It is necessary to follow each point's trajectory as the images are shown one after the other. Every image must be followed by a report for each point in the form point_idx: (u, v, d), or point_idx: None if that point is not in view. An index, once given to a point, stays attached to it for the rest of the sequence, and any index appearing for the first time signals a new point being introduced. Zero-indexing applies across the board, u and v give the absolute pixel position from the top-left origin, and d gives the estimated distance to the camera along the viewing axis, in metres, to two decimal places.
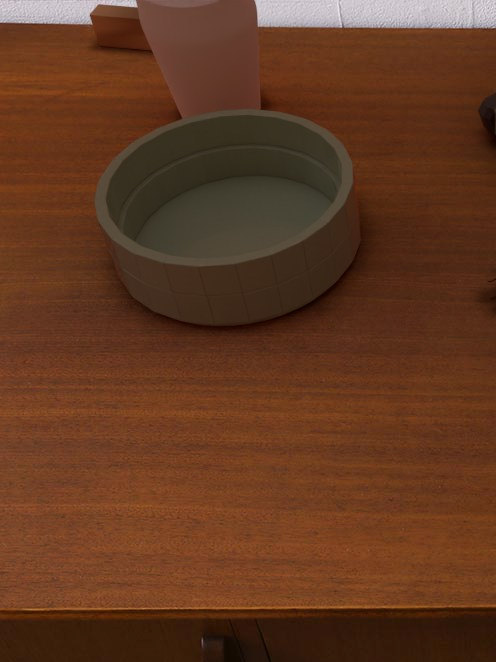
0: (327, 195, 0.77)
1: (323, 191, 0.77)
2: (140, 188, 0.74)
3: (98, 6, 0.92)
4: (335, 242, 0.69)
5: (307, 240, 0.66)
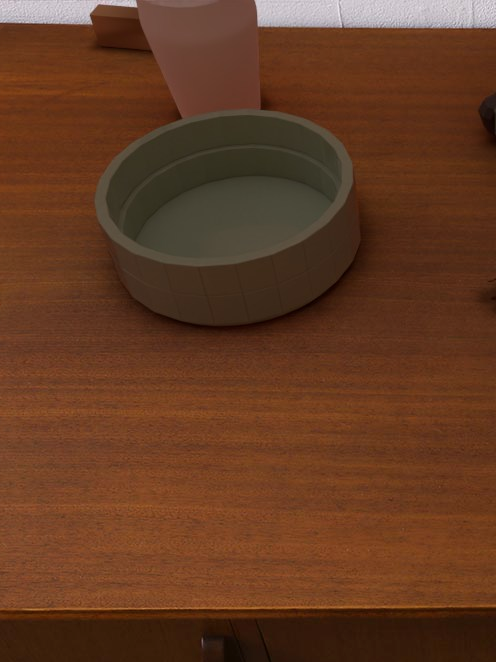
0: (327, 195, 0.77)
1: (323, 191, 0.77)
2: (140, 188, 0.74)
3: (98, 6, 0.92)
4: (335, 242, 0.69)
5: (307, 240, 0.66)
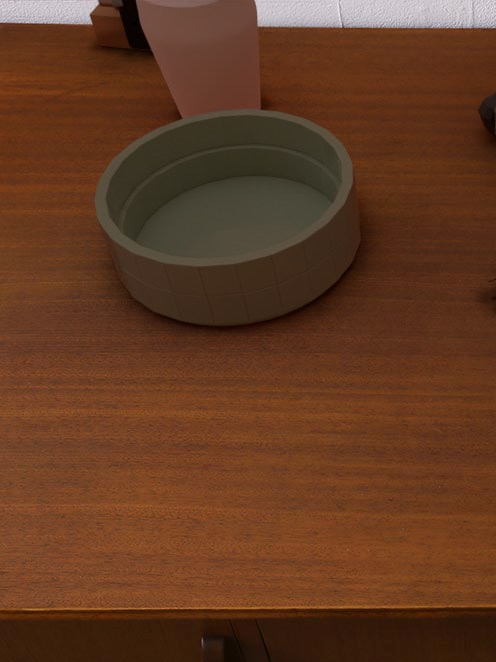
0: (327, 195, 0.77)
1: (323, 191, 0.77)
2: (140, 188, 0.74)
3: (98, 6, 0.92)
4: (335, 242, 0.69)
5: (307, 240, 0.66)
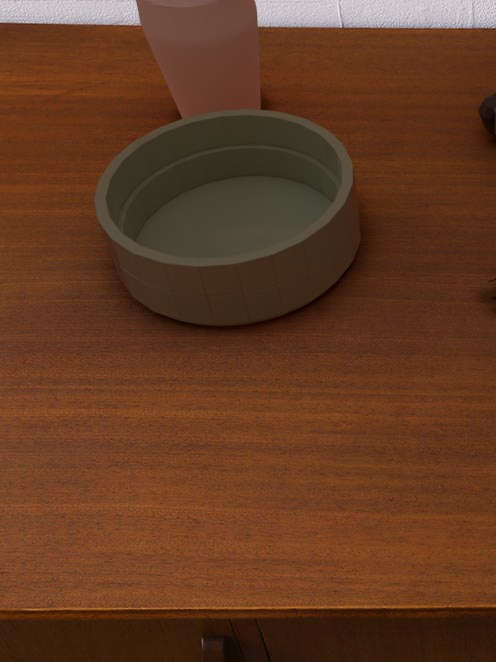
0: (327, 195, 0.77)
1: (323, 191, 0.77)
2: (140, 188, 0.74)
3: None
4: (335, 242, 0.69)
5: (307, 240, 0.66)
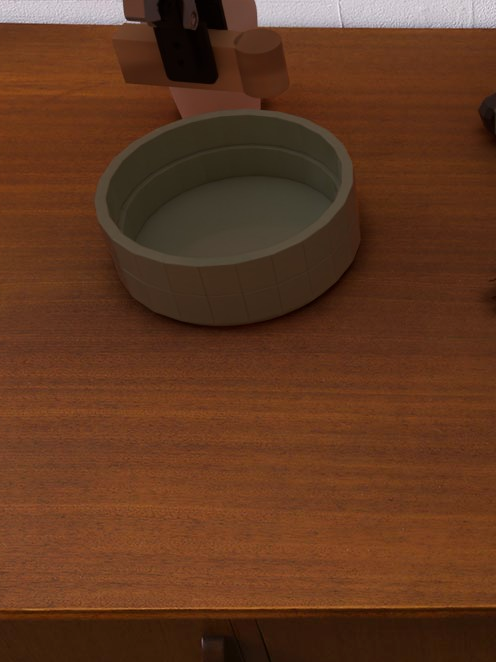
0: (327, 195, 0.77)
1: (323, 191, 0.77)
2: (140, 188, 0.74)
3: (124, 26, 0.63)
4: (335, 242, 0.69)
5: (307, 240, 0.66)
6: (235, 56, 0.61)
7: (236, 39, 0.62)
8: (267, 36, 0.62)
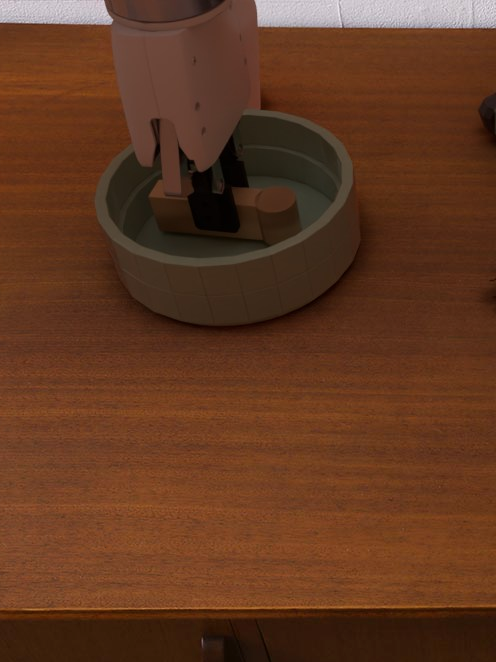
0: (327, 195, 0.77)
1: (323, 191, 0.77)
2: (140, 188, 0.74)
3: (158, 183, 0.72)
4: (335, 242, 0.69)
5: (307, 240, 0.66)
6: (256, 213, 0.71)
7: (257, 197, 0.71)
8: (283, 194, 0.72)
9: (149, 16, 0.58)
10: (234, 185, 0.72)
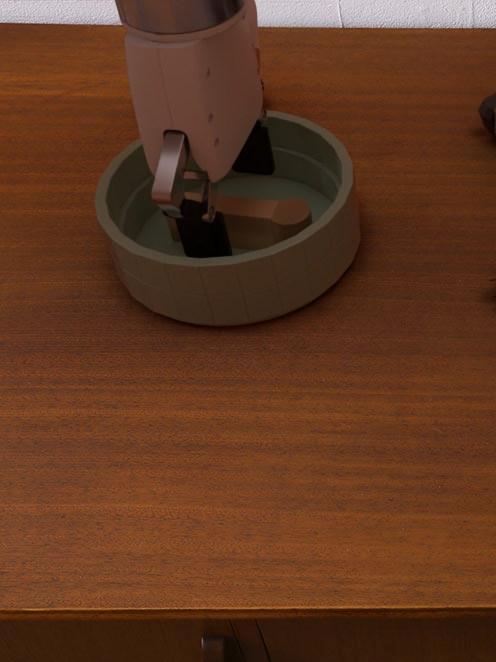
0: (327, 195, 0.77)
1: (323, 191, 0.77)
2: (140, 188, 0.74)
3: None
4: (335, 242, 0.69)
5: (307, 240, 0.66)
6: (270, 225, 0.71)
7: (271, 209, 0.71)
8: (298, 206, 0.72)
9: (163, 27, 0.57)
10: (258, 151, 0.73)
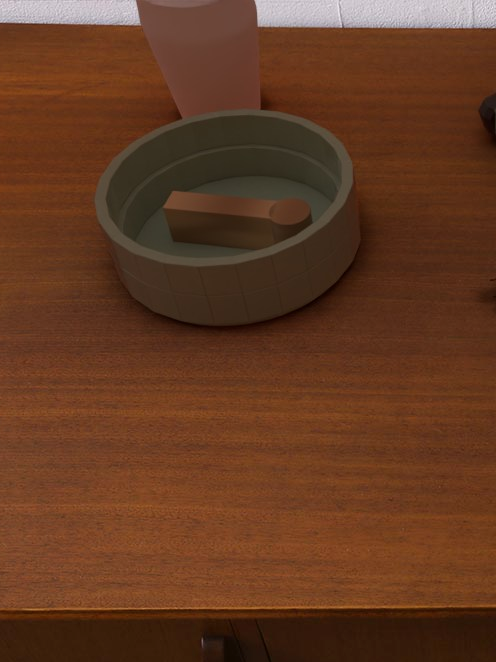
0: (327, 195, 0.77)
1: (323, 191, 0.77)
2: (140, 188, 0.74)
3: (173, 194, 0.72)
4: (335, 242, 0.69)
5: (307, 240, 0.66)
6: (270, 225, 0.71)
7: (271, 209, 0.71)
8: (298, 206, 0.72)
9: None
10: None
